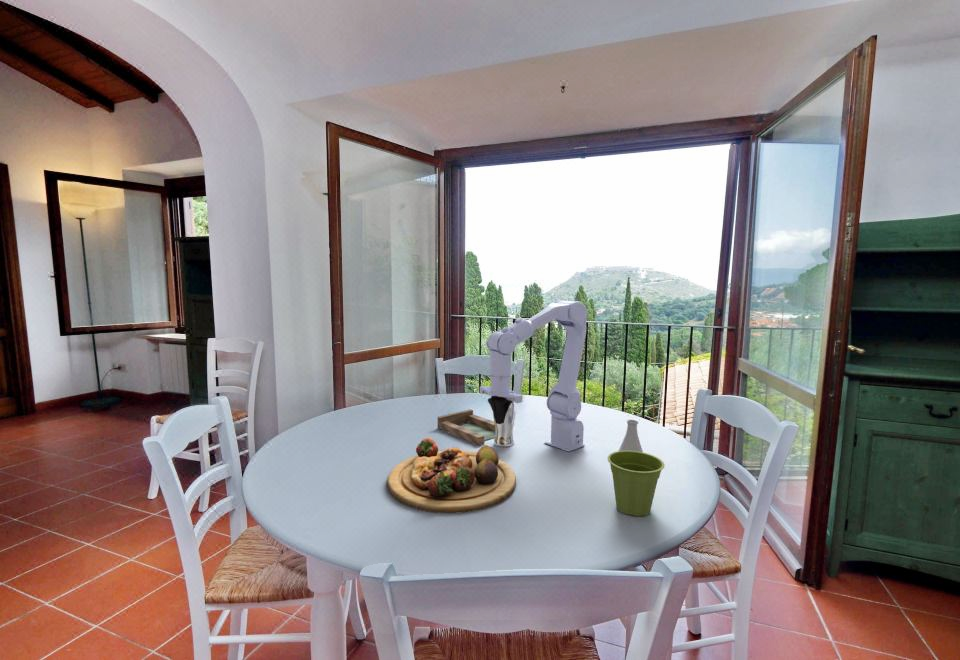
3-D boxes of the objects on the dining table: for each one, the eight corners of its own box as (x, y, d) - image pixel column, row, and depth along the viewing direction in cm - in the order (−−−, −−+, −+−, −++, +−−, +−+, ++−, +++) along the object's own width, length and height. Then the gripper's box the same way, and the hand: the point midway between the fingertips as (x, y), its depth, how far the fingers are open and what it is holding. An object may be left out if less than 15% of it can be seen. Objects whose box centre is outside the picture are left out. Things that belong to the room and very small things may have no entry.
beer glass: (515, 440, 147) (516, 393, 145) (514, 448, 140) (515, 399, 138) (493, 439, 147) (494, 392, 146) (491, 447, 140) (492, 398, 139)
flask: (615, 456, 134) (617, 422, 133) (620, 448, 141) (622, 415, 140) (641, 461, 131) (643, 426, 130) (645, 452, 137) (647, 419, 136)
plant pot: (595, 508, 103) (597, 459, 102) (622, 492, 112) (624, 446, 110) (646, 529, 95) (648, 476, 94) (670, 509, 103) (673, 460, 102)
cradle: (511, 435, 151) (512, 423, 151) (478, 445, 142) (478, 432, 141) (470, 420, 167) (470, 409, 166) (437, 428, 157) (437, 416, 157)
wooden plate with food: (378, 466, 126) (377, 437, 125) (487, 451, 137) (488, 424, 136) (401, 528, 96) (400, 491, 95) (538, 502, 108) (539, 468, 106)
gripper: (472, 373, 131) (471, 420, 133) (510, 381, 121) (509, 432, 122) (489, 369, 136) (489, 415, 138) (527, 377, 126) (526, 426, 127)
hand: (499, 423), depth 130 cm, fingers closed
